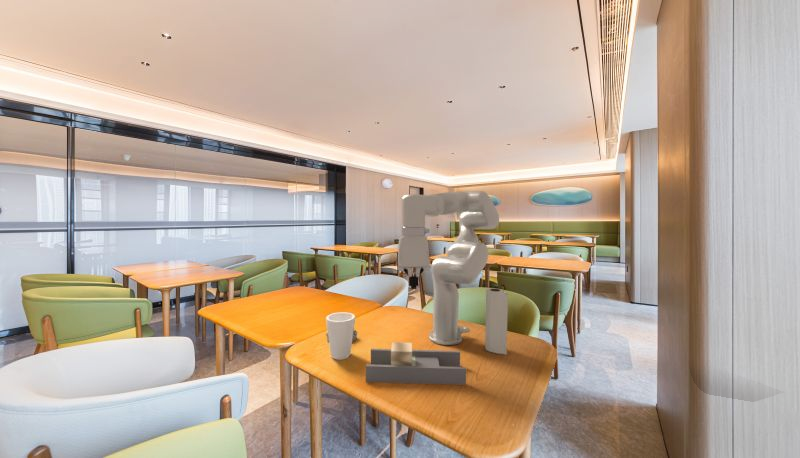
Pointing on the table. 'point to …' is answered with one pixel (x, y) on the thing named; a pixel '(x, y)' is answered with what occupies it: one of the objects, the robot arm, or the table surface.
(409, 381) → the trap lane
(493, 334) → the paper towel roll
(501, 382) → the table surface
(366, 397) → the table surface
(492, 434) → the table surface
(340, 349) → the foam cup
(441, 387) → the table surface
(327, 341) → the egg carton
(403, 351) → the maple block
